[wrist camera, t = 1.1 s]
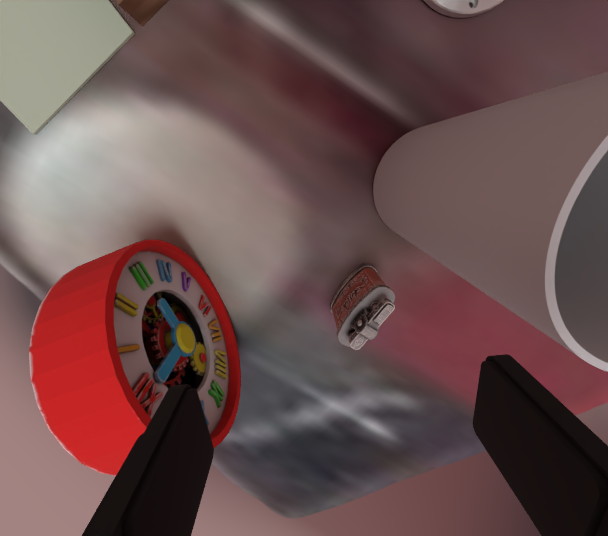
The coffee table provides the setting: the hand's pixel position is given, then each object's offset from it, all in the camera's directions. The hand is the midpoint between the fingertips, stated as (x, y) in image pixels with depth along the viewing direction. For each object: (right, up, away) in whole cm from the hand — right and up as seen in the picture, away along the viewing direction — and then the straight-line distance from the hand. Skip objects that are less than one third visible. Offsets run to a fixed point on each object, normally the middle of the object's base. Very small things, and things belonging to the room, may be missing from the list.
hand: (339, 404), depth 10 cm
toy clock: (-15, 0, +28) cm, 32 cm away
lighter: (+5, +2, +29) cm, 29 cm away
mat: (-28, +29, +18) cm, 44 cm away
